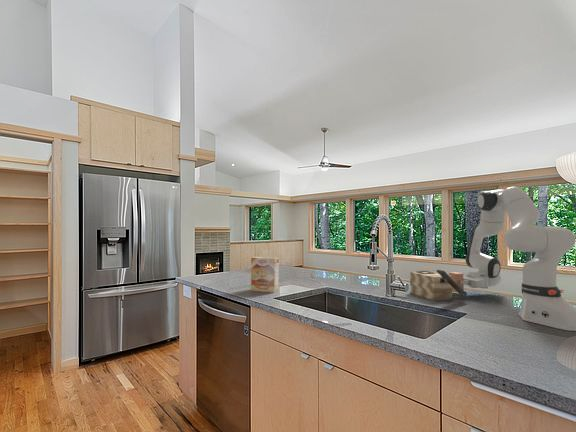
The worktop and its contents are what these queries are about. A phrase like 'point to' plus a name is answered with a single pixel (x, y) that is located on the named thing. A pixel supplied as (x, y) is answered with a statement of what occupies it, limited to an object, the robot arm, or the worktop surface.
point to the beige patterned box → (429, 285)
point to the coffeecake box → (264, 274)
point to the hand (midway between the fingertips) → (454, 281)
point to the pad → (459, 296)
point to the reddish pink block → (457, 279)
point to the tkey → (451, 282)
